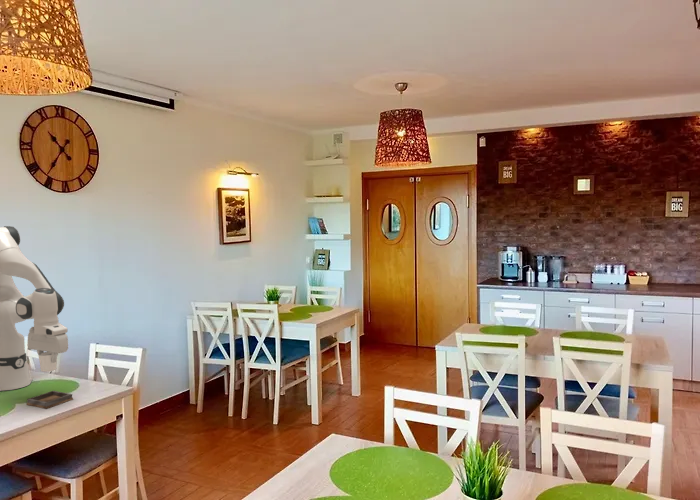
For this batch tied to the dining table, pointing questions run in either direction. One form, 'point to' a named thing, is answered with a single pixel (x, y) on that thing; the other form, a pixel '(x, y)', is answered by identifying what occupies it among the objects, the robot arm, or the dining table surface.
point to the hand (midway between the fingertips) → (48, 361)
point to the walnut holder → (49, 399)
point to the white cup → (47, 362)
